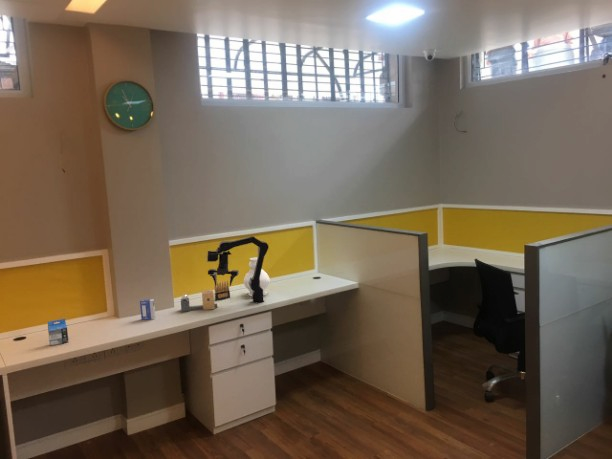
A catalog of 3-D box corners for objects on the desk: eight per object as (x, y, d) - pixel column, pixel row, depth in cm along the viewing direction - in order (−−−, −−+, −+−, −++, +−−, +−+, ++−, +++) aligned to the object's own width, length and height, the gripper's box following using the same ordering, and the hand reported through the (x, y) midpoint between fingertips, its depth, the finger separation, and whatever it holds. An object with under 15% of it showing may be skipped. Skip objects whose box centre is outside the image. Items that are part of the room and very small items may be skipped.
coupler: (216, 305, 341) (215, 290, 340) (217, 308, 335) (216, 292, 333) (181, 309, 337) (180, 293, 335) (181, 312, 330) (180, 296, 329)
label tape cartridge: (50, 346, 279) (47, 323, 277) (49, 344, 282) (46, 321, 281) (68, 342, 284) (66, 320, 282) (67, 340, 287) (65, 318, 285)
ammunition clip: (215, 300, 354) (214, 283, 352) (214, 300, 355) (213, 282, 354) (230, 297, 360) (229, 280, 358) (229, 297, 361) (227, 279, 360)
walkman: (141, 320, 318) (139, 300, 316) (142, 318, 321) (141, 299, 319) (154, 319, 318) (152, 299, 317) (155, 318, 321) (154, 298, 319)
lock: (214, 305, 342) (212, 290, 340) (214, 308, 334) (213, 293, 332) (202, 306, 340) (201, 291, 339) (203, 310, 332) (202, 294, 331)
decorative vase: (265, 297, 355) (263, 260, 351) (240, 297, 359) (238, 260, 356) (274, 291, 372) (271, 255, 368) (250, 290, 376) (247, 255, 373)
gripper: (205, 262, 330) (205, 287, 332) (235, 264, 329) (234, 289, 331) (210, 260, 341) (209, 283, 343) (239, 261, 340) (238, 285, 342)
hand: (223, 285), depth 339 cm, fingers open, 9 cm apart
